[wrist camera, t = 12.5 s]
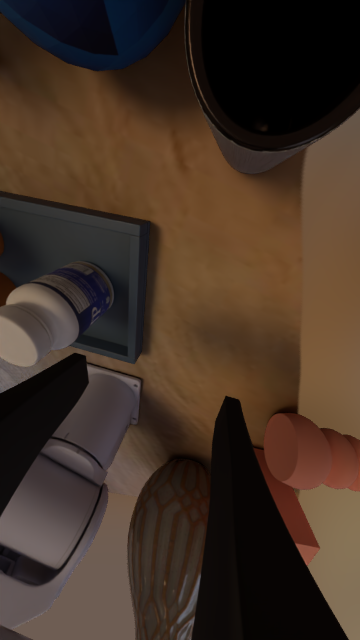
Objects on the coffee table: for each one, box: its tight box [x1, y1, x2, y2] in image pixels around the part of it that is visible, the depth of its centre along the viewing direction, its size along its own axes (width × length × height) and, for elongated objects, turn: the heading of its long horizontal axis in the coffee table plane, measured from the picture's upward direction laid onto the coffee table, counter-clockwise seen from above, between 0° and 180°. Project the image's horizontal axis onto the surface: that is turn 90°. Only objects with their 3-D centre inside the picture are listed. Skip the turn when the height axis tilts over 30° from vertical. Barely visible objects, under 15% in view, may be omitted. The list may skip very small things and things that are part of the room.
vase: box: [127, 459, 211, 640], centre depth 28 cm, size 13×13×18 cm
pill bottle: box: [0, 261, 114, 367], centre depth 17 cm, size 5×5×9 cm
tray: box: [0, 191, 150, 364], centre depth 21 cm, size 14×21×2 cm, turn 81°
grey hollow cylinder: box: [184, 0, 360, 174], centre depth 8 cm, size 4×4×10 cm
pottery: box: [254, 413, 360, 566], centre depth 24 cm, size 18×10×10 cm
